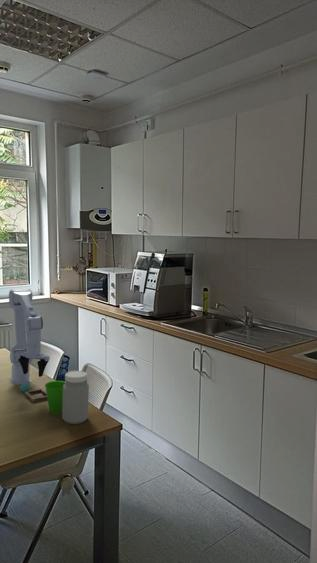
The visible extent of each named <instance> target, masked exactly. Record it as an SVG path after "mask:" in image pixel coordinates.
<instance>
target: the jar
mask: <svg viewBox="0 0 317 563" xmlns="http://www.w3.org/2000/svg"><path fill="white" fill-rule="evenodd" d="M64 382H65V384H64V386H63V408H62V412H61V414H62V415H61V416H62V420H63V421H64V422H65V423H66V424H70V425H79V424H82V423H84V422H85V421H87V420H88V416H89V395H90V394H89V391H90V390H89V388H90V387H89V384H88V373H87V372H86V371H84V370H70V371H68V372H65V374H64Z"/></svg>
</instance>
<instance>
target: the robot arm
mask: <svg viewBox="0 0 317 563" xmlns="http://www.w3.org/2000/svg"><path fill="white" fill-rule="evenodd" d="M33 297H34V296H33V290H32V289H30V288H29V289H10V290H9V292H8V303H9V304H8V305H9V307H10V308H11V309H12V310H13V315H14V328H15V329H14V330H15V332H14V333H15V344H13V345H12V346H11V347H10V352H9V360H10V363H11V378H9V380H10V381H11V382H12V383H13V384H14V385H15V386H16V385H17V386H18V385H22V384H23V383H28V384H29V383H33V380H31V379H30V374H31V373H30V370H31V369H30V368H31V367H30V365H31V364H32V362H33V360H38V361H37V362H36V364H37V367H38V377H40V378H41V377H43V376H44V372H45V370H46V366H47V364H48V363H49V361H50V355H48V354H44V353H41V352H42V351H41V349H42V347H41V344H42V339H41V338H42V330H43V327H44V319H43V317H42V315H40V314H38V312H37V309H36V307H35V306H33V304H32V301H33Z"/></svg>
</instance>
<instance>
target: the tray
mask: <svg viewBox="0 0 317 563" xmlns="http://www.w3.org/2000/svg"><path fill="white" fill-rule="evenodd" d="M23 395H24V396H25V397H26V399H28V400H30V402H32V403H33V404H34V403H40V402H42V401H48V399H47V392H46V389H43V388H38V389H32V390H30V391H26V392H24V394H23Z"/></svg>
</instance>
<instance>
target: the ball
mask: <svg viewBox="0 0 317 563" xmlns="http://www.w3.org/2000/svg"><path fill="white" fill-rule="evenodd" d="M30 388H31V386H30V384H29V383H23V384H20V391H22V392H26V391H28V390H30Z"/></svg>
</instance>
